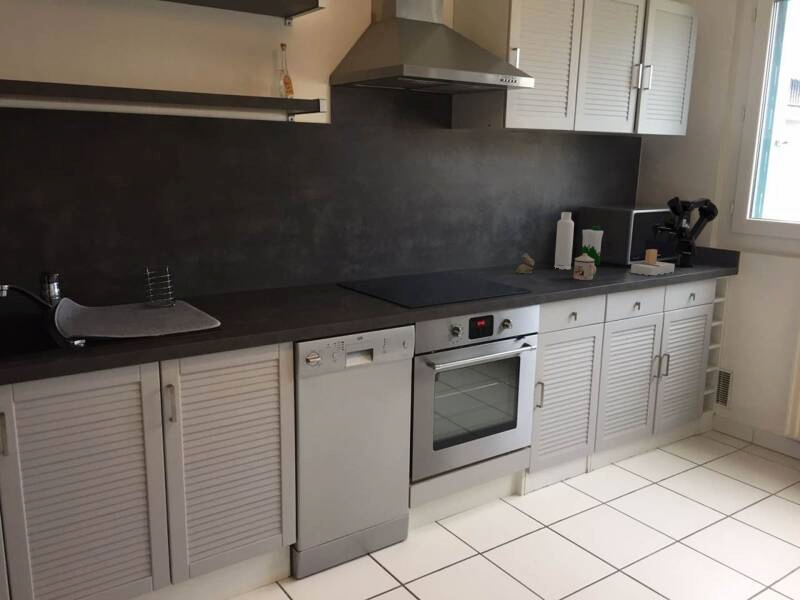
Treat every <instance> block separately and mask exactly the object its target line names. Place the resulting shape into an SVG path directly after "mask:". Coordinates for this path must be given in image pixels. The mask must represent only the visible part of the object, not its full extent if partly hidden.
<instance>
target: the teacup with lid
mask: <svg viewBox="0 0 800 600" xmlns="http://www.w3.org/2000/svg"><path fill="white" fill-rule="evenodd" d="M594 262H595V260H594V259H592V258H590V257H589V256H587V254H585V253H584V254H583V256H582V255H580V256H578V257H575V258H574V267H573V279H575V280H578V279H579V280H580V281H591V280H593V279H594V275H595V274H596V272H597V267H596V266H595V265H594Z"/></svg>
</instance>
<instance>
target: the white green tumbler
mask: <svg viewBox="0 0 800 600" xmlns="http://www.w3.org/2000/svg"><path fill="white" fill-rule="evenodd" d="M591 228H592V229H582V244H581V245H582V248H581V256H583V254H584V253H585V254H587V256H589V257H590V258H592V259H594V260H595V262H594V265H596V266H600V265H601V251H602V249H601V247H602V238H603V234H604V230H601V226H599V225H593V226H592V227H591Z"/></svg>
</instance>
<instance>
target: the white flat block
mask: <svg viewBox="0 0 800 600" xmlns="http://www.w3.org/2000/svg"><path fill="white" fill-rule="evenodd" d="M675 264H676V263H669V262H662V261H657V260H656V264H647V263H645V262H638V263H633V264H631V266H630V273H632V274H636V273H637V274H638V275H642V274H644V275H643V276H648V275H654V276H659V275H658V274H660V275H665V274H664V273H666V274H671V273H670V272H672V273H674V272H675V266H676V265H675ZM637 274H636V275H637Z"/></svg>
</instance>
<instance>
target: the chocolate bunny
mask: <svg viewBox="0 0 800 600" xmlns="http://www.w3.org/2000/svg"><path fill="white" fill-rule="evenodd" d="M521 259H522V260H523V263H522V264H520V265H518V267H517V269H516V271H515V273H516V272H517V273H516V274H518V273H532V274H533V272H532V271H533V270H534V266H535V261H534V259H533V258H531V257H530V256H529V254H528V253H527V252H525V253H524V254H523V255H521Z"/></svg>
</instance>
